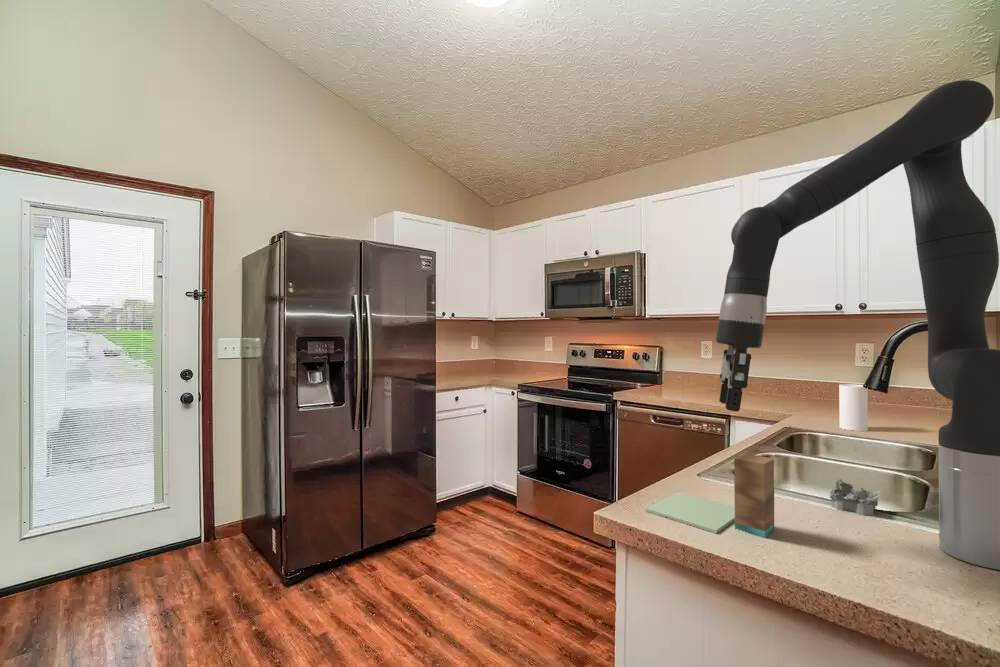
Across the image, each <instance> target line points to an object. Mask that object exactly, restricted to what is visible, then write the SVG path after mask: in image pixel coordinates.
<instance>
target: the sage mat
mask: <svg viewBox="0 0 1000 667" xmlns="http://www.w3.org/2000/svg"><path fill="white" fill-rule="evenodd" d="M645 512H646V513H649V514H653V515H655V514H656V516H659V515H660V516H659V517H662V516H664V517H663V518H665V517H667V518H666V519H668V518H670V519H669V520H671V519H673V520H672V521H674V520H676V522H678V521H679V522H678V523H681V522H682V523H681V524H684V523H685V524H684V525H687V524H688V526H690V525H691V526H690V527H693V526H694V527H693V528H697V527H698V528H697V529H700V528H701V529H700V530H703V529H704V530H703V531H706V530H707V532H709V531H710V533H712V532H713V534H715V533H716V534H718V533H719V532H721V531H722V530H723V529H724V528H726V527H728V526H729V525H730V524H732V523H733V522H735V505H730V504H726V503H722V502H720V501H715V500H711V499H707V498H705V497H700V496H695V495H693V494H690V493H685V492H680V491H677V492H675V493H673V494H672V495H670V496H667V497H666V498H663V499H662V500H660V501H657V502H656V503H654V504H651V505H649V506H647V507H646V508H645Z"/></svg>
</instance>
